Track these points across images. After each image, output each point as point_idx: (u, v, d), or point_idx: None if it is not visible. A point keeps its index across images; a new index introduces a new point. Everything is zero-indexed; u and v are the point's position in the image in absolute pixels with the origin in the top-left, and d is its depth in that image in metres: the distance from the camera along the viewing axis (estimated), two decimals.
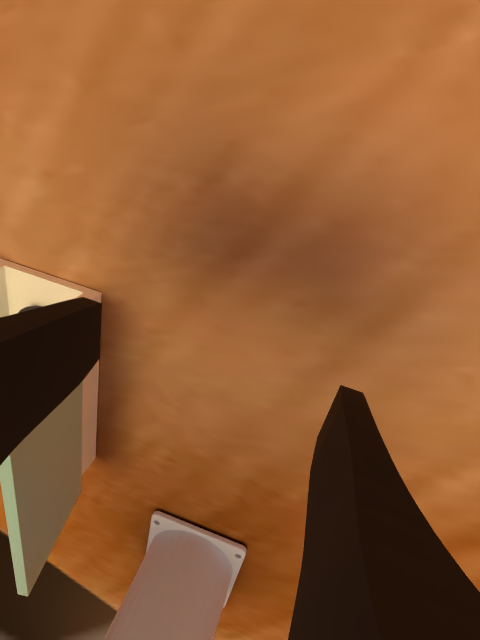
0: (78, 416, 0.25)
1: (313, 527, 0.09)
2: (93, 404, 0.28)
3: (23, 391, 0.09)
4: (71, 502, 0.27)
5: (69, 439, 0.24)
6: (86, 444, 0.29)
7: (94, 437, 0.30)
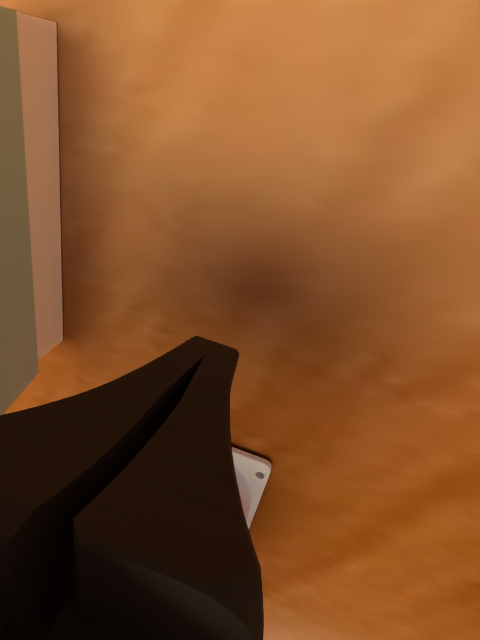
0: (21, 222, 0.16)
1: None
2: (53, 240, 0.19)
3: None
4: (20, 378, 0.19)
5: (5, 250, 0.15)
6: (45, 306, 0.20)
7: (59, 303, 0.21)
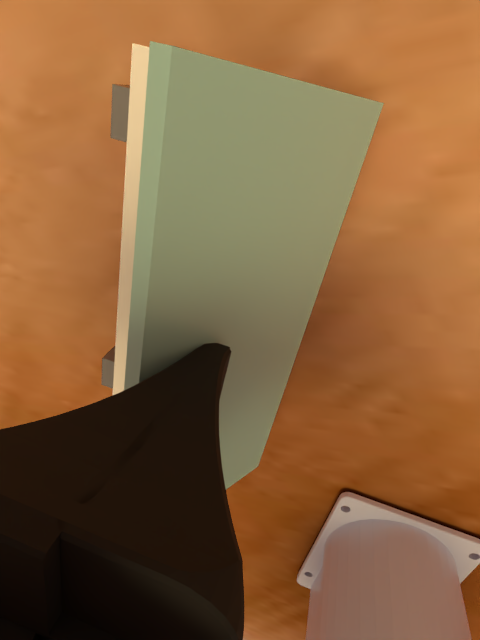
0: (300, 321, 0.14)
1: None
2: None
3: None
4: (238, 470, 0.17)
5: (273, 348, 0.14)
6: None
7: None
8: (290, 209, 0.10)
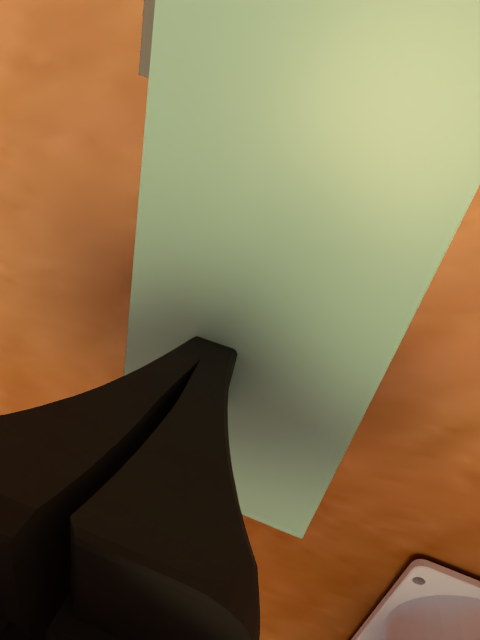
0: (377, 337, 0.10)
1: None
2: None
3: None
4: (264, 505, 0.13)
5: (320, 346, 0.10)
6: None
7: None
8: (338, 125, 0.08)
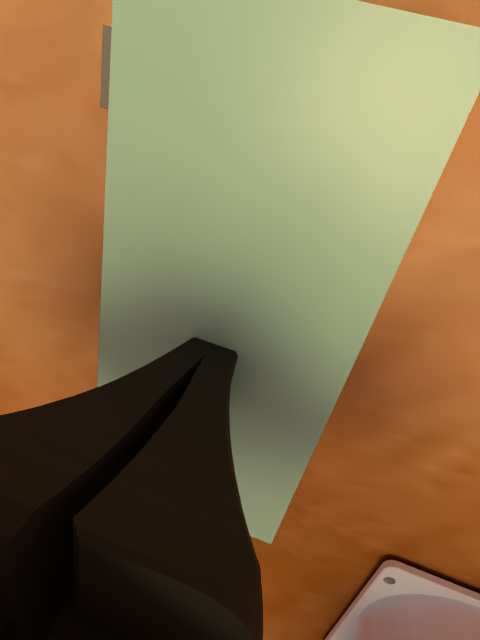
0: (332, 359, 0.10)
1: None
2: None
3: None
4: None
5: (279, 365, 0.11)
6: None
7: None
8: (287, 163, 0.08)
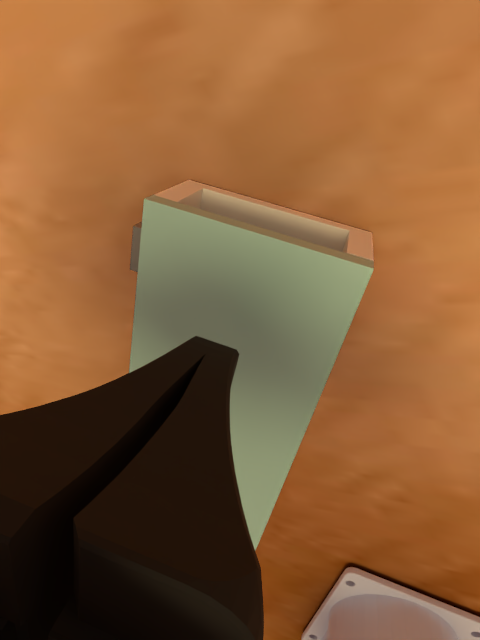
0: (288, 434, 0.15)
1: None
2: None
3: None
4: None
5: (253, 436, 0.15)
6: None
7: None
8: (252, 319, 0.13)
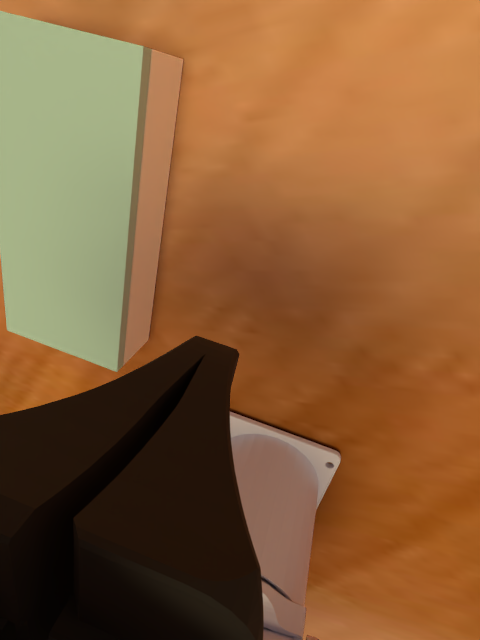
0: (118, 225, 0.18)
1: None
2: (155, 248, 0.21)
3: None
4: (92, 349, 0.22)
5: (94, 234, 0.18)
6: (143, 307, 0.22)
7: (151, 304, 0.23)
8: (72, 111, 0.16)
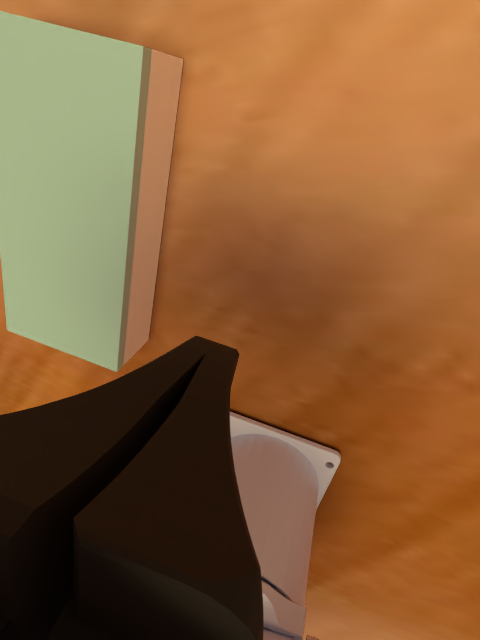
0: (118, 225, 0.18)
1: None
2: (155, 248, 0.21)
3: None
4: (92, 349, 0.22)
5: (94, 234, 0.18)
6: (143, 307, 0.22)
7: (151, 304, 0.23)
8: (72, 111, 0.16)
